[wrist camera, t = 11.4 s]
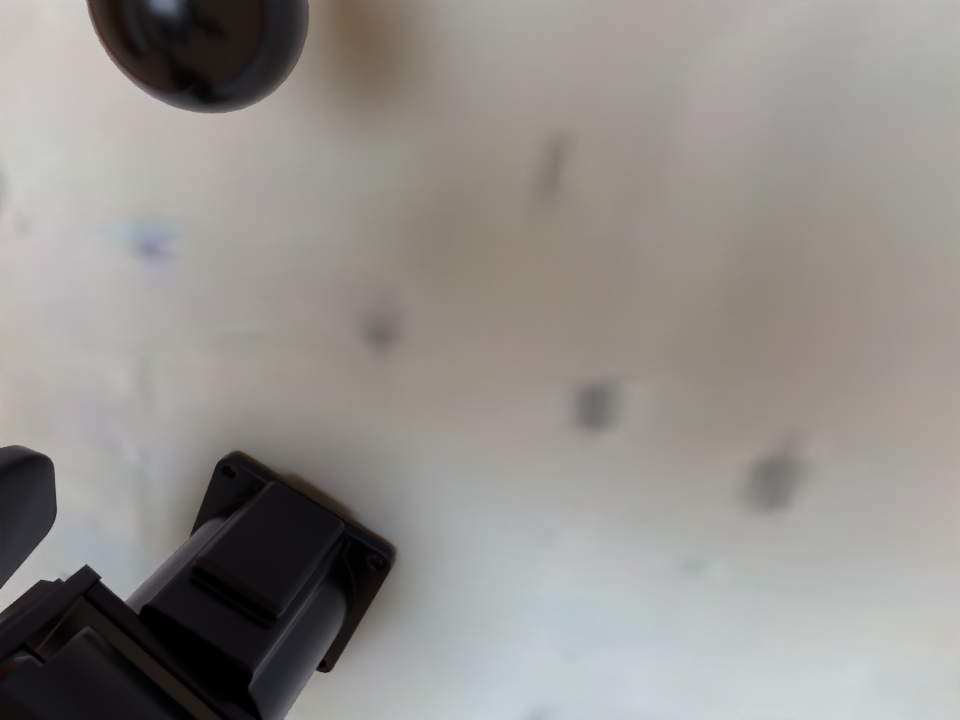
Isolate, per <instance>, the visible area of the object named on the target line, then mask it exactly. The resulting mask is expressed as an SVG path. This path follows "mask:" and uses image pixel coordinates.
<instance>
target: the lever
mask: <svg viewBox="0 0 960 720" xmlns="http://www.w3.org/2000/svg"><path fill="white" fill-rule="evenodd" d="M86 2H87V7H88V12H89V16H90V19H91V22H92V25H93V28H94V30H95V33H96V35H97V37H98V39H99V41H100V43H101V44H102V46H103V48H104V49H105V51H106V53H107V54H108V56H109V57H110V58H111V60H112V61H113V63H114V64H115V65H116V66H117V67H118V69H119V70H120V71H121V72H122V73H123V74H124V75H125V76H126V77H127V78H128V79H129V80H130V81H131V82H132V83H134V84H135V85H136V86H137V87H139V88H140V89H141V90H143V91H144V92H145V93H147V94H149V95H150V96H152V97H154V98H156V99H158V100H160V101H162V102H164V103H166V104H168V105H170V106H173V107H176V108H179V109H183V110H188V111H192V112H197V113H226V112H232V111H236V110H241V109H244V108H246V107H249V106H251V105H253V104H256V103H258V102H260V101H261V100H263V99H264V98H266V97H267V96H269V95H270V94H272V93H273V92H274V91H275V90H276V89H277V88H278V87H279V86H280V85H281V84H282V83H283V82H284V81H285V80H286V79H287V78H288V76H289V75H290V73H291V72H292V71H293V69H294V67H295V66H296V64H297V62H298V60H299V58H300V56H301V53H302V50H303V48H304V44H305V41H306V37H307V31H308V22H309V3H308V0H86Z"/></svg>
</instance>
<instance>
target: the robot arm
mask: <svg viewBox="0 0 960 720" xmlns="http://www.w3.org/2000/svg"><path fill="white" fill-rule="evenodd" d="M231 467H232V468H233V469H234V470H235V471H236V472H234V471H233V470H232V469H231ZM56 514H57V504H56V488H55V472H54V464H53V462H52V461H51V459H50V458H49V457H48V456H46V455H44V454H42V453H39V452H36V451H34V450H31V449H29V448H26V447H24V446H19V445H13V446H7V447H3V448H0V589H1V588H2V586H3V585H4V584H5V583H6V582H7V581H8V579H9V578H10V577H11V576H12V575H13V574H14V572H15V571H16V570H17V569H18V568H19V567H20V565H21V564H22V563H23V562H24V561H25V560H26V558H27V557H28V556H29V555H30V554H31V553H32V551H33V550H34V549H35V548H36V547H37V545H38V544H39V543H40V542H41V541H42V540H43V538H44V537H45V536H46V535H47V534H48V532H49V531H50V529H51V527H52V526H53V523H54V521H55V518H56ZM375 557H378V558H379V559H381V560H382V562H381V561H378V560H377V559H376V558H375ZM394 563H395V554H394V553H393V551H392V549H390V548H389V547H388V546H387V545H385V544H384V543H382V542H380V541H379V540H377V539H376V538H374V537H372V536H371V535H369V534H367V533H366V532H364V531H363V530H361V529H359V528H358V527H356V526H354V525H353V524H351V523H350V522H348V521H346V520H345V519H343V518H341V517H340V516H338V515H337V514H335V513H333V512H332V511H330V510H328V509H327V508H325V507H324V506H322V505H320V504H319V503H317V502H315V501H314V500H312V499H311V498H309V497H307V496H306V495H304V494H302V493H301V492H299V491H298V490H296V489H294V488H293V487H291V486H289V485H288V484H286V483H285V482H283V481H281V480H280V479H278V478H276V477H275V476H273V475H272V474H270V473H268V472H267V471H265V470H263V469H262V468H260V467H259V466H257V465H255V464H254V463H252V462H250V461H249V460H247V459H246V458H244V457H242V456H241V455H238V454H236V453H229V454H227V455H225V456H224V457H223V458H222V459H221V460H220V461H219V462H218V463H217V465H216V467H215V470H214V473H213V475H212V478H211V481H210V483H209V486H208V489H207V491H206V494H205V497H204V499H203V502H202V505H201V507H200V510H199V513H198V516H197V518H196V521H195V524H194V526H193V529H192V532H191V534H190V537H189V539H188V540H187V541H186V542H185V543H184V544H183V545H182V546H181V547H180V548H179V549H178V550H177V551H176V552H175V553H174V554H173V555H172V556H171V557H170V558H169V559H168V560H167V561H166V562H165V563H164V564H163V565H162V566H161V567H160V568H159V569H158V570H157V571H156V572H155V573H154V574H153V575H152V576H151V577H150V578H149V579H148V580H146V581H145V582H144V583H143V584H142V585H141V586H140V587H139V588H138V589H137V590H136V591H135V592H134V593H133V594H132V595H131V596H130V597H129V598H128V599H127V600H126V601H125V602H124V601H122V600H121V599H120V598H119V597H118V596H117V595H116V594H115V593H113V592H112V591H111V590H110V589H109V588H108V587H107V586H105V585H104V584H103V583H102V582H101V581H100V579H101V578H102V577H101V576H100V575H98V574H97V573H96V572H95V571H94V570H93V569H92V568H91V567H89V566H88V565H87V564H86V565H85V566H84V567H82V568H81V569H80V570H79V571H77V572H76V573H75V574H73V575H72V576H71V577H70V578H68V579H67V580H66V581H65V582H64V581H62V580H61V579H60V578H58V579H57V580H56V581H54V582H51V581H46V580H40V581H39V582H37V583H36V584H35V585H34V586H33V587H31V588H30V589H29V590H28V591H27V592H25V593H24V594H23V595H22V596H21V597H19V598H18V599H17V600H16V601H15V602H13V603H12V604H11V605H10V606H9V607H7V608H6V609H5V610H4V611H3V612H1V613H0V720H284V718H285V717H286V715H287V713H288V712H289V710H290V709H291V707H292V706H293V704H294V702H295V701H296V699H297V698H298V696H299V695H300V693H301V691H302V690H303V688H304V687H305V685H306V684H307V682H308V680H309V679H310V677H311V676H312V674H313V673H314V671H315V670H317V671H319V672H323V673H327V672H330V671H331V670H332V669H333V667H334V665H335V664H336V662H337V661H338V659H339V657H340V655H341V654H342V652H343V650H344V649H345V647H346V645H347V644H348V642H349V640H350V638H351V637H352V635H353V633H354V632H355V630H356V628H357V626H358V625H359V623H360V621H361V620H362V618H363V616H364V615H365V613H366V611H367V609H368V608H369V606H370V604H371V603H372V601H373V599H374V597H375V596H376V594H377V592H378V591H379V589H380V587H381V586H382V584H383V582H384V580H385V579H386V577H387V575H388V574H389V572H390V570H391V569H392V567H393V565H394Z"/></svg>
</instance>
